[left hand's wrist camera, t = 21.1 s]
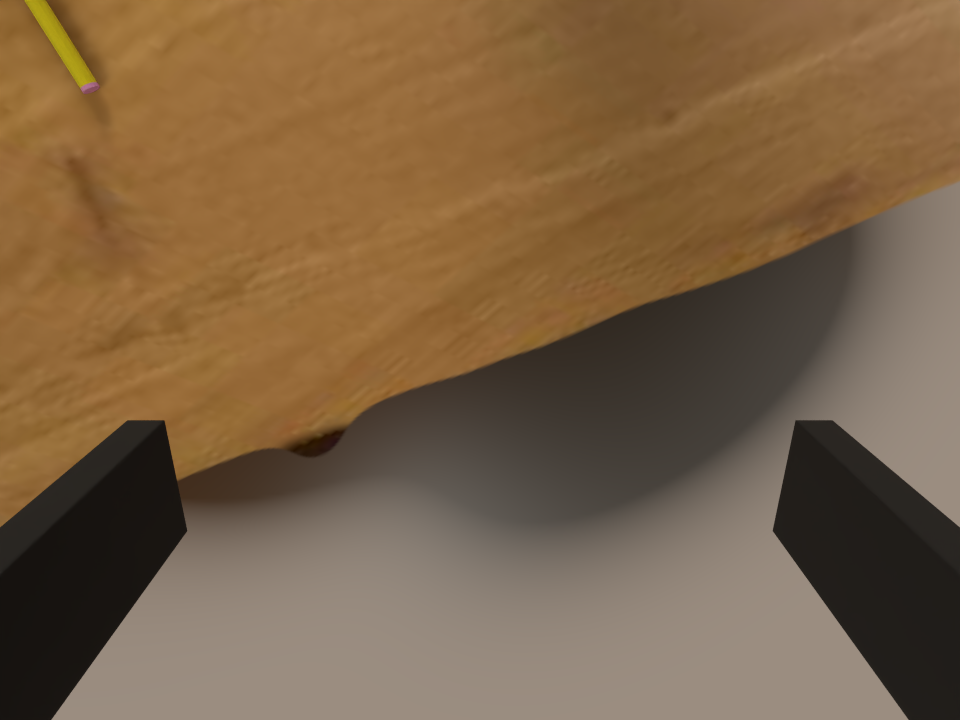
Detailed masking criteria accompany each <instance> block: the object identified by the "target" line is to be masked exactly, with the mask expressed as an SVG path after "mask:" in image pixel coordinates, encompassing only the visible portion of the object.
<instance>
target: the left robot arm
mask: <svg viewBox="0 0 960 720" xmlns="http://www.w3.org/2000/svg"><path fill="white" fill-rule="evenodd" d="M186 532H187V528H186V523H185V518H184V513H183V508H182V503H181V498H180V494H179V489H178V484H177V479H176V474H175V469H174V465H173V460H172V455H171V450H170V445H169V440H168V436H167V431H166V426H165V421H164V420H128V421H126V422H125V423H124V424H123V425H122V426H120V427H119V428H118V429H117V430H116V431H114V432H113V433H112V434H111V435H110V436H108V437H107V438H106V439H105V440H104V441H103V442H101V443H100V444H99V445H98V446H97V447H95V448H94V449H93V450H92V451H91V452H89V453H88V454H87V455H86V456H85V457H84V458H82V459H81V460H80V461H79V462H78V463H76V464H75V465H74V466H73V467H72V468H70V469H69V470H68V471H67V472H66V473H64V474H63V475H62V476H61V477H60V478H59V479H57V480H56V481H55V482H54V483H53V484H51V485H50V486H49V487H48V488H47V489H45V490H44V491H43V492H42V493H41V494H40V495H38V496H37V497H36V498H35V499H34V500H32V501H31V502H30V503H29V504H28V505H26V506H25V507H24V508H23V509H22V510H20V511H19V512H18V513H17V514H16V515H15V516H13V517H12V518H11V519H10V520H9V521H7V522H6V523H5V524H4V525H3V526H1V527H0V720H51V719H52V718H53V717H54V715H55V714H56V712H57V711H58V710H59V708H60V707H61V706H62V704H63V703H64V701H65V700H66V699H67V697H68V696H69V694H70V693H71V692H72V690H73V689H74V687H75V686H76V685H77V683H78V682H79V681H80V679H81V678H82V676H83V675H84V674H85V672H86V671H87V669H88V668H89V667H90V665H91V664H92V662H93V661H94V660H95V658H96V657H97V655H98V654H99V653H100V651H101V650H102V649H103V647H104V646H105V644H106V643H107V641H108V640H109V639H110V637H111V636H112V635H113V633H114V632H115V630H116V629H117V628H118V626H119V625H120V623H121V622H122V621H123V619H124V618H125V617H126V615H127V614H128V612H129V611H130V610H131V608H132V607H133V605H134V604H135V603H136V601H137V600H138V598H139V597H140V596H141V594H142V593H143V592H144V590H145V589H146V587H147V586H148V585H149V583H150V582H151V580H152V579H153V578H154V576H155V575H156V574H157V572H158V571H159V569H160V568H161V567H162V565H163V564H164V562H165V561H166V560H167V558H168V557H169V555H170V554H171V553H172V551H173V550H174V549H175V547H176V546H177V544H178V543H179V542H180V540H181V539H182V537H183V536H184V535H185V533H186ZM773 532H774V533H775V535H776V536H777V537H778V539H779V540H780V542H781V543H782V544H783V546H784V547H785V549H786V550H787V551H788V553H789V554H790V555H791V557H792V558H793V560H794V561H795V562H796V564H797V565H798V567H799V568H800V569H801V571H802V572H803V574H804V575H805V576H806V578H807V579H808V580H809V582H810V583H811V585H812V586H813V587H814V589H815V590H816V592H817V593H818V594H819V596H820V597H821V599H822V600H823V601H824V603H825V604H826V605H827V607H828V608H829V610H830V611H831V612H832V614H833V615H834V617H835V618H836V619H837V621H838V622H839V624H840V625H841V626H842V628H843V629H844V630H845V632H846V633H847V635H848V636H849V637H850V639H851V640H852V642H853V643H854V644H855V646H856V647H857V649H858V650H859V651H860V653H861V654H862V656H863V657H864V658H865V660H866V661H867V662H868V664H869V665H870V667H871V668H872V669H873V671H874V672H875V674H876V675H877V676H878V678H879V679H880V680H881V682H882V683H883V685H884V686H885V687H886V689H887V690H888V692H889V693H890V694H891V696H892V697H893V698H894V700H895V701H896V703H897V704H898V706H899V707H900V708H901V710H902V711H903V712H904V714H905V715H906V717H907V718H908V719H909V720H960V527H959V526H957V525H956V524H955V523H954V522H953V521H951V520H950V519H949V518H948V517H947V516H945V515H944V514H943V513H942V512H941V511H939V510H938V509H937V508H936V507H935V506H934V505H932V504H931V503H930V502H929V501H928V500H926V499H925V498H924V497H923V496H922V495H920V494H919V493H918V492H917V491H916V490H915V489H913V488H912V487H911V486H910V485H909V484H907V483H906V482H905V481H904V480H903V479H901V478H900V477H899V476H898V475H897V474H896V473H894V472H893V471H892V470H891V469H890V468H888V467H887V466H886V465H885V464H884V463H882V462H881V461H880V460H879V459H878V458H876V457H875V456H874V455H873V454H872V453H871V452H869V451H868V450H867V449H866V448H865V447H863V446H862V445H861V444H860V443H859V442H857V441H856V440H855V439H854V438H853V437H851V436H850V435H849V434H848V433H847V432H846V431H844V430H843V429H842V428H841V427H840V426H838V425H837V424H836V423H835V422H834V421H831V420H827V421H825V420H816V421H815V420H813V421H812V420H810V421H808V420H803V421H801V420H796V421H795V426H794V431H793V436H792V440H791V445H790V450H789V455H788V460H787V465H786V470H785V474H784V479H783V484H782V489H781V494H780V499H779V503H778V508H777V513H776V518H775V523H774V527H773Z"/></svg>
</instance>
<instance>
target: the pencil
mask: <svg viewBox="0 0 960 720" xmlns="http://www.w3.org/2000/svg"><path fill="white" fill-rule="evenodd" d="M24 1H25V2H26V4H27V5H28V7H29V9H30V10H31V12H32V13H33V15H34V16H35V18H36V20H37V21H38V23H39V24H40V26H41V27H42V29H43V31H44V32H45V34H46V35H47V37H48V38H49V40H50V42H51V43H52V45H53V46H54V48H55V49H56V51H57V53H58V54H59V56H60V57H61V59H62V61H63V62H64V64H65V65H66V67H67V68H68V70H69V72H70V73H71V75H72V76H73V78H74V79H75V81H76V83H77V84H78V86H79V87H80V89H81V90H82V92H83V93H84V94H88V93H92V92H94V91H96V90H98V89H99V88H100V86H99V85H98V83H97V81H96V80H95V78H94V77H93V75H92V73H91V72H90V70H89V69H88V67H87V65H86V64H85V62H84V61H83V59H82V57H81V56H80V54H79V53H78V51H77V49H76V48H75V46H74V44H73V43H72V41H71V40H70V38H69V36H68V35H67V33H66V32H65V30H64V28H63V27H62V25H61V24H60V22H59V20H58V19H57V17H56V16H55V14H54V12H53V11H52V9H51V8H50V6H49V4H48V3H47V1H46V0H24Z"/></svg>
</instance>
